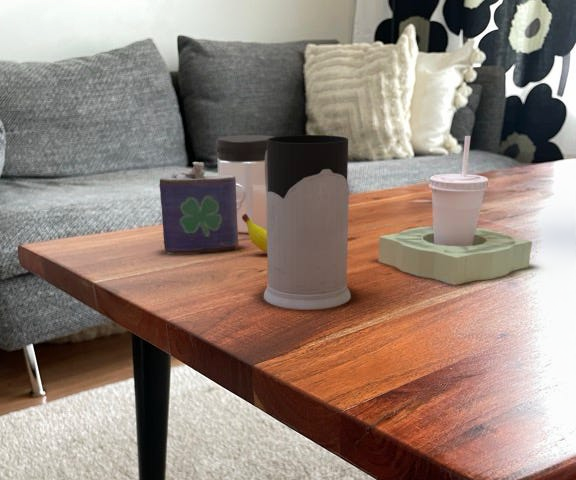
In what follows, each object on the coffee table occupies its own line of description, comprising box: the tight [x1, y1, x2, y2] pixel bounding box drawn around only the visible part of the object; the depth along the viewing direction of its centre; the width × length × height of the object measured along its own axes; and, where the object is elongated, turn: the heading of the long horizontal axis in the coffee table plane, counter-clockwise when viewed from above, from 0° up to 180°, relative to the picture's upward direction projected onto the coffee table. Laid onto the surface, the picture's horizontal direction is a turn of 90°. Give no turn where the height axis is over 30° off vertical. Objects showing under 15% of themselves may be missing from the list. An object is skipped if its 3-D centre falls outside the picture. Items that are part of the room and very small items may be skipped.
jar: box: [216, 134, 273, 234], centre depth 99 cm, size 9×8×12 cm
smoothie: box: [428, 135, 489, 246], centre depth 80 cm, size 6×6×14 cm
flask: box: [158, 161, 239, 255], centre depth 87 cm, size 9×3×11 cm, turn 103°
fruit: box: [242, 214, 267, 253], centre depth 86 cm, size 10×2×5 cm, turn 88°
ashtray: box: [377, 226, 533, 286], centre depth 82 cm, size 13×13×3 cm
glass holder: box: [263, 134, 352, 311], centre depth 71 cm, size 9×14×15 cm, turn 24°
